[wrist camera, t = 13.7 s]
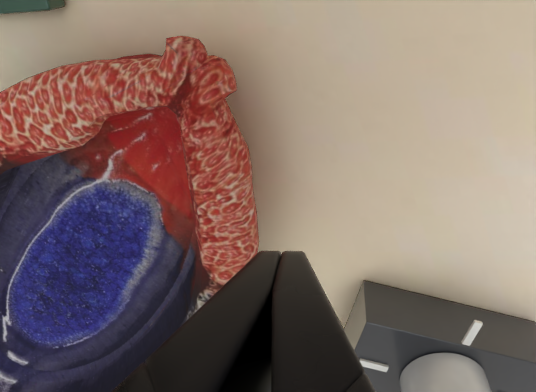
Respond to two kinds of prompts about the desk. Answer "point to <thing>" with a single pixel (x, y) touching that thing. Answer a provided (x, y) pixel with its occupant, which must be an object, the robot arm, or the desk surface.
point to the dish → (116, 212)
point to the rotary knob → (444, 374)
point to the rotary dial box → (438, 337)
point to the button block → (29, 5)
